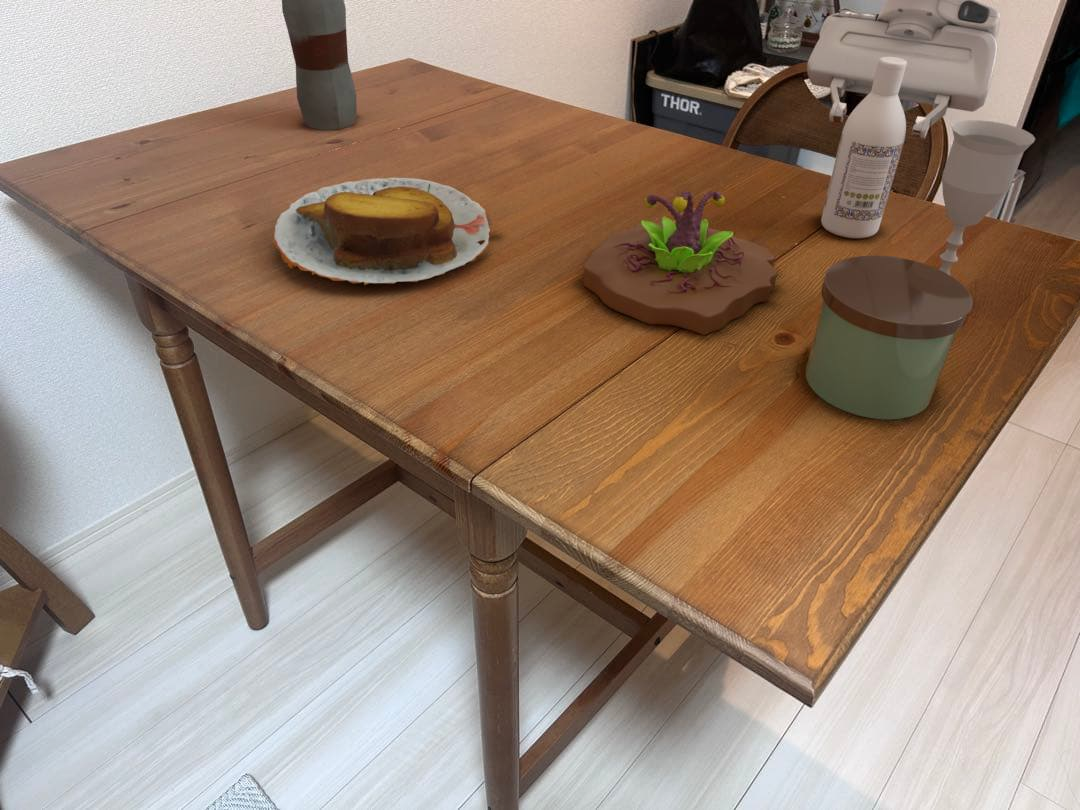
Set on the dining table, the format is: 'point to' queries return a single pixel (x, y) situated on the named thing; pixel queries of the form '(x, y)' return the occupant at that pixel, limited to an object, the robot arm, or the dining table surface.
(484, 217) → the food on plate
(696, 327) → the plant
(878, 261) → the canister
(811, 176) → the dining table surface
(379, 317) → the dining table surface
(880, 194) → the bath foam
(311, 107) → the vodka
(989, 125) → the chalice
